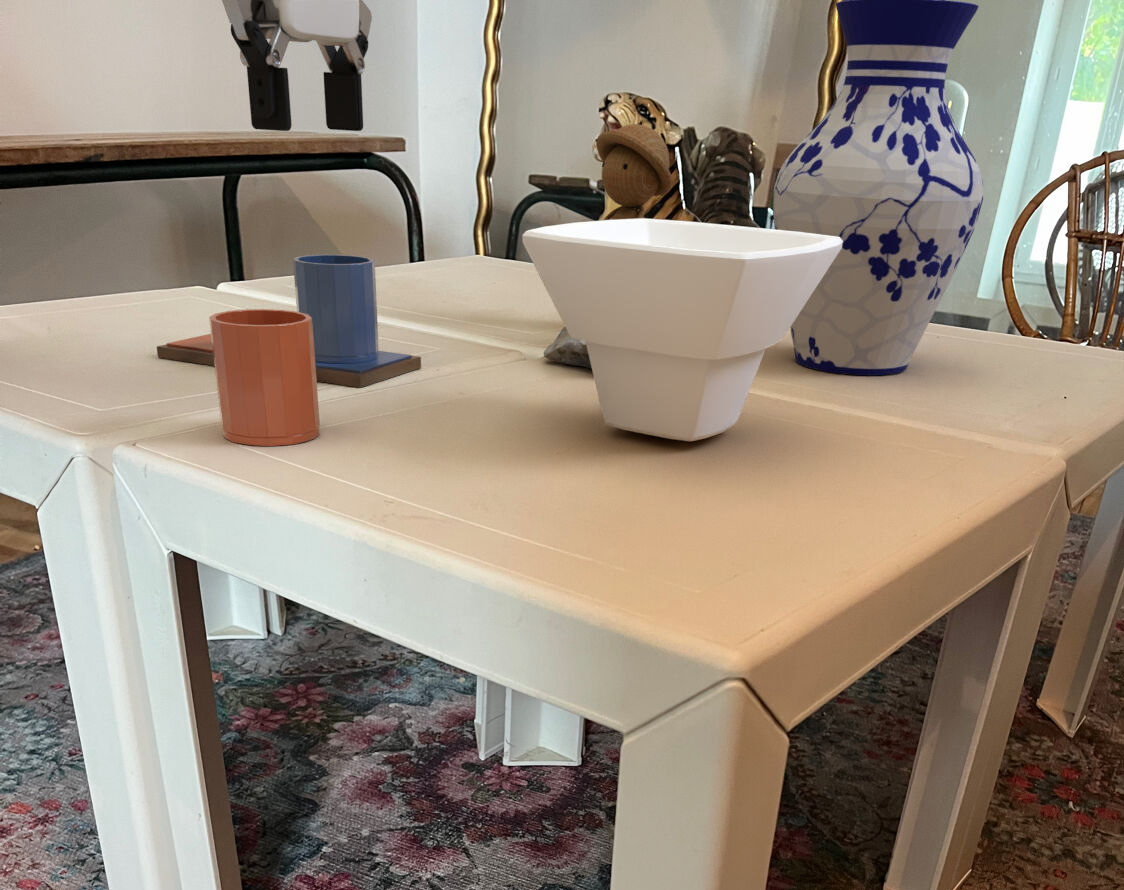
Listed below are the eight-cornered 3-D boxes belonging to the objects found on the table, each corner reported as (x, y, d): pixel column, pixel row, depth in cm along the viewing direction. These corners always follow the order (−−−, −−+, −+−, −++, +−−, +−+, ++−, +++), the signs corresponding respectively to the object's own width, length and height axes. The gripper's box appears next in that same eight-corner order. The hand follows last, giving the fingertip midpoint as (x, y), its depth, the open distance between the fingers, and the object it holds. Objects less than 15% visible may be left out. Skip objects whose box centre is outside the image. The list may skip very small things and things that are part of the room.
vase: (973, 364, 114) (1046, 13, 99) (910, 394, 101) (985, -8, 86) (800, 339, 123) (844, 14, 108) (721, 364, 110) (759, -5, 95)
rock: (531, 347, 107) (598, 264, 107) (570, 388, 111) (635, 309, 110) (587, 370, 99) (661, 280, 98) (627, 414, 103) (698, 328, 102)
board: (157, 357, 103) (155, 343, 102) (229, 341, 111) (227, 328, 110) (360, 387, 95) (359, 373, 95) (421, 367, 103) (421, 354, 102)
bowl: (623, 393, 97) (634, 216, 90) (836, 432, 88) (866, 237, 81) (495, 436, 83) (496, 230, 76) (732, 486, 74) (758, 258, 67)
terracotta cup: (202, 437, 80) (188, 318, 76) (263, 417, 85) (252, 305, 81) (281, 451, 78) (270, 329, 74) (338, 430, 83) (330, 315, 79)
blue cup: (285, 357, 99) (277, 259, 95) (330, 346, 104) (324, 252, 100) (350, 367, 97) (344, 266, 93) (392, 354, 102) (389, 259, 98)
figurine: (572, 326, 125) (581, 121, 115) (620, 321, 129) (632, 123, 119) (628, 340, 119) (641, 124, 109) (675, 334, 123) (693, 126, 113)
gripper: (318, -125, 87) (332, 128, 95) (165, -173, 73) (197, 127, 82) (402, -127, 84) (408, 132, 93) (261, -178, 71) (283, 132, 79)
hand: (310, 129), depth 87 cm, fingers open, 9 cm apart
